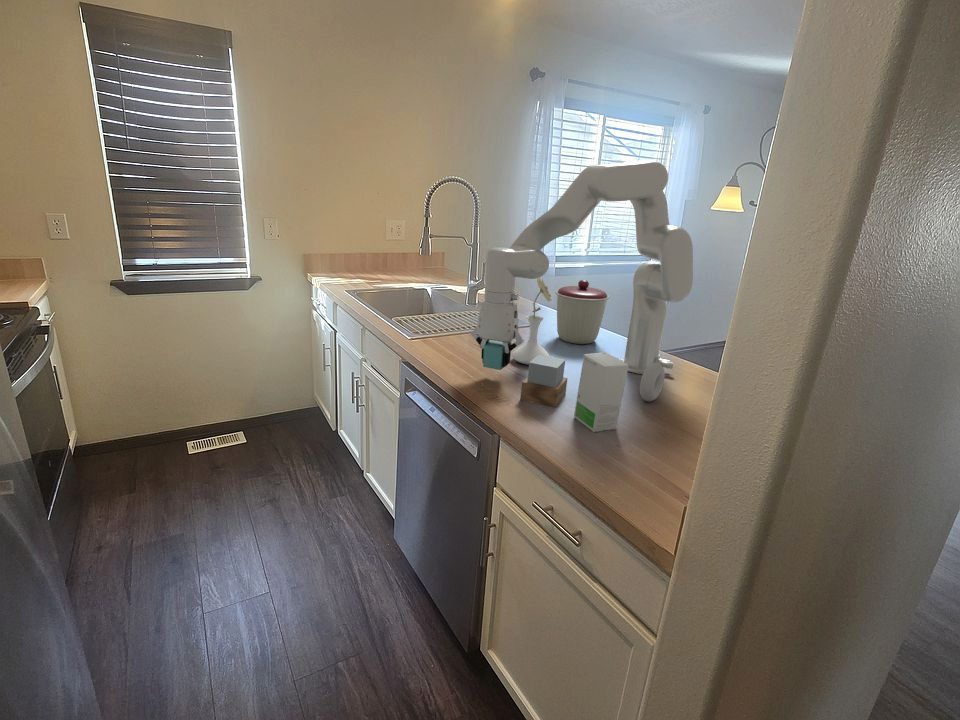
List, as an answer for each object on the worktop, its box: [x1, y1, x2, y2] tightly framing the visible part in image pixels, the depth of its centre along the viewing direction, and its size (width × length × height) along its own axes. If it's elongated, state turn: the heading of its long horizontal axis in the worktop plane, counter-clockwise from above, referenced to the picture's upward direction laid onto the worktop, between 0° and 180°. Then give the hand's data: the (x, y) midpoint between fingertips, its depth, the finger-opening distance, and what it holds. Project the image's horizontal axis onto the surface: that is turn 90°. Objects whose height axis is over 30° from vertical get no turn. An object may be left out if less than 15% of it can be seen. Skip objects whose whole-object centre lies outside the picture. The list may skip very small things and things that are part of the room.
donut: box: [639, 363, 666, 402], centre depth 130 cm, size 10×4×10 cm, turn 141°
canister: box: [554, 279, 610, 345], centre depth 177 cm, size 18×18×21 cm
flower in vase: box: [511, 277, 552, 366], centre depth 152 cm, size 13×11×25 cm
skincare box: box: [573, 351, 629, 433], centre depth 114 cm, size 8×7×16 cm
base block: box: [520, 376, 568, 409], centre depth 129 cm, size 9×9×5 cm
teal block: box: [482, 340, 505, 371], centre depth 138 cm, size 5×5×6 cm
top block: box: [527, 355, 566, 388], centre depth 127 cm, size 7×7×5 cm
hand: (495, 363), depth 139 cm, fingers closed on teal block, 5 cm apart
